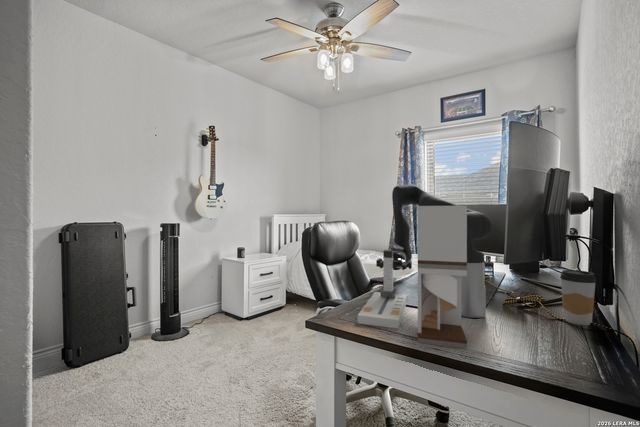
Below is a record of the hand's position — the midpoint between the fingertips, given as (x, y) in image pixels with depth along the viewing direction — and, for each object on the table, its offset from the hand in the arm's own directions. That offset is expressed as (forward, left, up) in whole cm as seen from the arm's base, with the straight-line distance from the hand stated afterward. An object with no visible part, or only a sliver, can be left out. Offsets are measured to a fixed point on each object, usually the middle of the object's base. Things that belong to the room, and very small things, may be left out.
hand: (392, 266), depth 120 cm
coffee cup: (-56, +9, -12) cm, 58 cm away
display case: (-17, +35, -12) cm, 41 cm away
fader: (0, +11, -9) cm, 14 cm away
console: (0, +19, -12) cm, 23 cm away
